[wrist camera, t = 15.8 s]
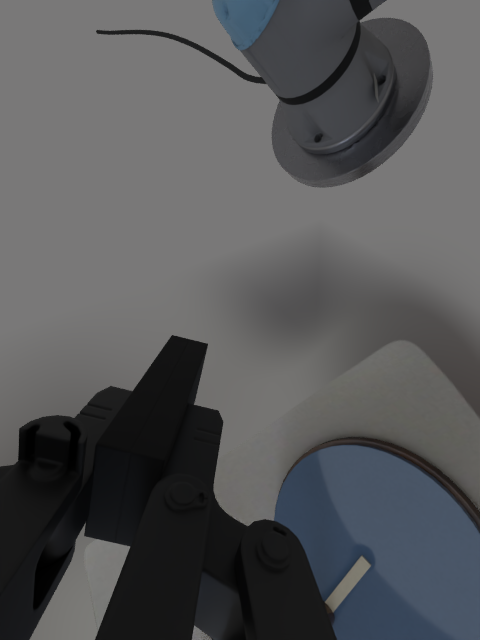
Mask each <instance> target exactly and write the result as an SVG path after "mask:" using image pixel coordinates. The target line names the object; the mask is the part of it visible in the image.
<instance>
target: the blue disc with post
mask: <svg viewBox="0 0 480 640" xmlns="http://www.w3.org/2000/svg"><path fill="white" fill-rule="evenodd" d="M274 521H277V522H279V523H280V524H282V525H284V526H286V527H287V528H289V529H290V530H291V531H292V532H293V533H294V534H295V535H296V536H297V537H298V539H299V541H300V542H301V544H302V546H303V548H304V550H305V552H306V555H307V558H308V561H309V563H310V566H311V569H312V572H313V574H314V577H315V580H316V583H317V585H318V588H319V591H320V594H321V597H322V599H323V602H324V605H325V608H326V610H327V613H328V616H329V619H330V621H331V624H332V627H333V630H334V632H335V635H336V638H337V640H480V529H479V527H478V526H477V524H476V522H475V521H474V520H473V518H472V517H471V516H470V514H469V513H468V512H467V510H466V509H465V508H464V507H463V505H462V504H461V503H460V502H459V501H458V500H457V499H456V498H455V497H454V495H453V494H452V493H451V492H450V491H449V490H448V489H447V488H446V487H445V486H443V485H442V484H441V483H440V482H439V481H438V480H437V479H435V478H434V477H433V476H432V475H430V474H429V473H428V472H426V471H425V470H423V469H422V468H420V467H419V466H418V465H416V464H414V463H412V462H411V461H409V460H407V459H405V458H404V457H401V456H399V455H397V454H394V453H392V452H390V451H387V450H384V449H381V448H377V447H374V446H368V445H363V444H339V445H333V446H329V447H325V448H323V449H320V450H318V451H316V452H314V453H311V454H310V455H308V456H307V457H305V458H304V459H302V460H301V461H300V462H299V463H298V464H297V465H296V466H295V467H294V468H293V469H292V471H291V472H290V473H289V474H288V476H287V478H286V479H285V481H284V483H283V485H282V488H281V490H280V493H279V496H278V500H277V504H276V509H275V517H274Z"/></svg>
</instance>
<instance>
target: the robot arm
mask: <svg viewBox="0 0 480 640" xmlns="http://www.w3.org/2000/svg"><path fill="white" fill-rule="evenodd" d="M385 1H386V0H212V3H213V8H214V11H215V14H216V16H217V18H218V20H219V21H220V23H221V24H222V26H223V27H224V28H225V30H226V31H227V33H228V34H229V35H230V37H231V40H232V42H233V44H234V46H235V47H236V48H237V49H238V50H240V51H241V52H242V53H243V55H244V56H245V57H246V58H247V60H248V61H249V62H250V63H251V65H252V66H253V67H254V68H255V70H256V71H257V72H258V73H259V75H260V76H261V77H255V76H251V75H248V74H246V73H244V72H242V71H241V70H239V69H238V68H237V67H235V66H234V65H232V64H231V63H229V62H227V61H226V60H224V59H223V58H221V57H219V56H218V55H216V54H214V53H212V52H211V51H209V50H207V49H205V48H204V47H201V46H200V45H198V44H196V43H194V42H191V41H189V40H187V39H184V38H181V37H179V36H176V35H173V34H169V33H164V32H159V31H151V30H120V31H102V30H97V31H96V32H97V33H98V34H108V35H110V34H112V35H113V34H114V35H115V34H146V35H156V36H161V37H166V38H169V39H173V40H176V41H179V42H181V43H184V44H186V45H189V46H191V47H193V48H195V49H197V50H199V51H201V52H202V53H204V54H206V55H207V56H209V57H211V58H213V59H214V60H216V61H218V62H219V63H221V64H222V65H224V66H225V67H227V68H229V69H230V70H232V71H233V72H234V73H236V74H237V75H238V76H240V77H241V78H243V79H245V80H247V81H250V82H254V83H262V84H268V86H269V87H270V88H271V90H272V91H273V92H274V93H275V94H276V96H277V97H278V98H279V99H280V102H281V106H282V109H283V113H284V116H285V120H286V123H287V127H288V130H289V132H290V135H291V136H292V138H293V139H294V140H295V142H296V143H297V144H298V145H299V146H300V147H301V148H302V149H303V150H305V151H307V152H309V153H313V154H329V153H333V152H337V151H339V150H342V149H344V148H346V147H348V146H350V145H351V144H353V143H355V142H356V141H357V140H359V139H360V138H361V137H363V136H364V135H365V134H366V133H367V132H368V131H369V130H370V129H371V128H372V127H373V126H374V125H375V124H376V123H377V121H378V120H379V119H380V117H381V116H382V115H383V113H384V111H385V110H386V108H387V106H388V104H389V102H390V100H391V98H392V95H393V92H394V88H395V82H396V71H395V66H394V63H393V60H392V57H391V54H390V52H389V50H388V48H387V47H386V46H385V45H384V44H383V43H382V42H381V41H380V40H379V39H378V38H377V37H376V36H374V35H373V34H372V33H371V32H370V31H369V30H368V29H367V28H365V27H364V26H363V25H362V24H361V23H360V20H361V19H362V18H363V17H365V16H366V15H367V14H369V13H370V12H371V11H373V10H374V9H375V8H376V7H378V6H379V5H381V4H382V3H383V2H385ZM207 346H208V344H206V343H202V342H198V341H194V340H190V339H186V338H182V337H178V336H173V335H172V336H171V338H170V339H169V340H168V342H167V343H166V344H165V346H164V347H163V349H162V350H161V352H160V353H159V354H158V356H157V357H156V359H155V360H154V362H153V363H152V364H151V366H150V367H149V369H148V370H147V372H146V373H145V375H144V376H143V378H142V379H141V380H140V382H139V383H138V384H137V386H136V387H135V389H134V390H133V391H129V390H125V389H120V388H117V387H112V386H110V387H108V388H106V389H104V390H102V391H100V392H98V393H97V394H96V395H95V396H94V397H93V398H92V399H91V400H90V401H89V402H88V404H87V405H86V406H85V407H84V408H83V409H82V410H81V411H80V414H78V415H77V416H76V417H75V418H72V417H68V416H59V415H56V416H47V417H42V418H39V419H36V420H33V421H30V422H29V423H27V424H26V425H24V426H22V427H21V428H20V429H19V456H18V462H17V463H16V464H15V465H10V466H1V467H0V640H29V639H30V637H31V636H32V634H33V632H34V630H35V628H36V626H37V624H38V622H39V620H40V618H41V617H42V615H43V613H44V611H45V609H46V607H47V605H48V603H49V602H50V600H51V598H52V596H53V594H54V592H55V590H56V589H57V587H58V585H59V583H60V581H61V579H62V577H63V575H64V573H65V572H66V570H67V568H68V566H69V564H70V562H71V560H72V557H73V553H74V550H75V542H76V539H77V537H78V535H79V533H80V531H81V530H82V528H83V526H84V524H85V522H86V526H85V534H84V536H86V537H91V538H95V539H100V540H104V541H109V542H113V543H118V544H122V545H127V546H131V547H130V549H129V552H128V555H127V557H126V560H125V563H124V565H123V568H122V570H121V573H120V576H119V578H118V581H117V584H116V586H115V589H114V591H113V594H112V597H111V599H110V602H109V604H108V607H107V610H106V612H105V615H104V618H103V620H102V623H101V625H100V628H99V631H98V633H97V636H96V639H95V640H192V634H193V628H194V625H195V626H196V627H197V628H199V629H200V630H202V631H203V632H204V633H206V634H207V635H209V636H210V637H211V638H212V640H337V638H336V635H335V632H334V630H333V627H332V624H331V621H330V619H329V616H328V613H327V610H326V608H325V605H324V602H323V599H322V597H321V594H320V591H319V588H318V585H317V583H316V580H315V577H314V574H313V572H312V569H311V566H310V563H309V561H308V558H307V555H306V552H305V550H304V548H303V546H302V544H301V542H300V541H299V539H298V537H297V536H296V535H295V534H294V533H293V532H292V531H291V530H290V529H289V528H287V527H286V526H284V525H282V524H280V523H279V522H277V521H271V520H266V519H264V520H259V521H254V522H253V523H252V524H251V525H249V526H246V525H244V524H242V523H241V522H239V521H237V520H235V519H234V518H232V517H231V516H230V515H228V514H227V513H226V512H225V511H224V510H223V509H222V508H221V507H220V506H219V504H218V502H217V500H216V499H215V495H214V491H213V484H214V477H215V471H216V465H217V458H218V452H219V445H220V439H221V433H222V427H223V420H222V418H221V415H220V413H219V411H218V410H213V409H209V408H205V407H201V406H197V405H194V402H195V398H196V394H197V389H198V385H199V381H200V377H201V372H202V368H203V363H204V359H205V355H206V350H207Z"/></svg>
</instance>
